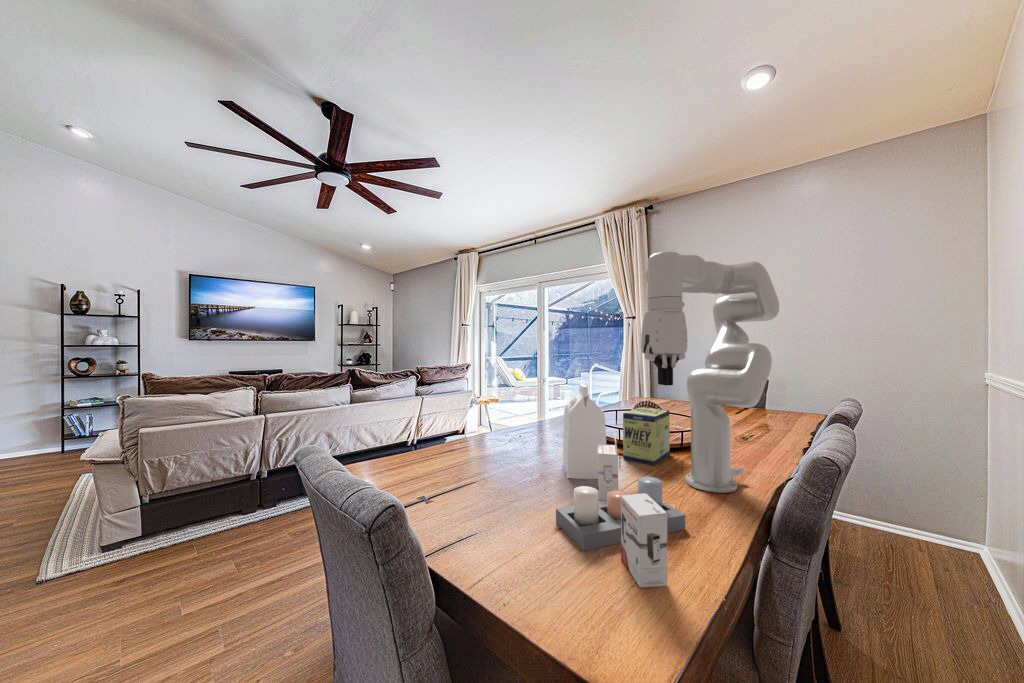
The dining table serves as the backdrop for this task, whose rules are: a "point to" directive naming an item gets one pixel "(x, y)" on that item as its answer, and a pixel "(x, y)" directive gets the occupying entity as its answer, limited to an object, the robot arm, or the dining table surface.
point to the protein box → (646, 435)
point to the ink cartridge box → (607, 469)
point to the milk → (582, 436)
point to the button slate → (651, 488)
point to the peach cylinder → (614, 503)
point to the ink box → (644, 539)
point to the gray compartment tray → (606, 526)
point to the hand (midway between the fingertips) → (665, 384)
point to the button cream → (586, 505)
